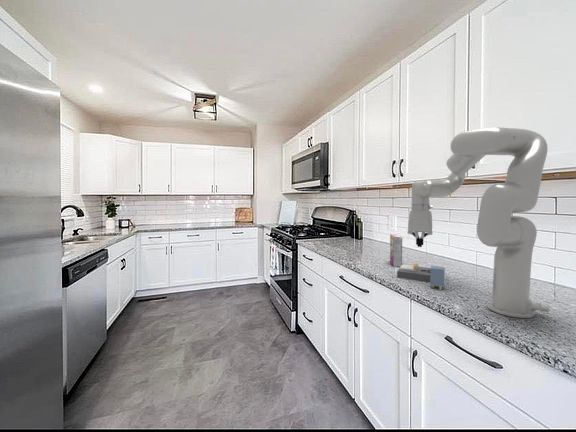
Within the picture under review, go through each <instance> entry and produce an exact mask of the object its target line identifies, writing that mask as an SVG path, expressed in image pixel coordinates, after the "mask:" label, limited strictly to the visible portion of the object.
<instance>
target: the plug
mask: <svg viewBox="0 0 576 432" xmlns="http://www.w3.org/2000/svg"><path fill="white" fill-rule="evenodd" d="M430 268H431V272H430V282H429V283H430V284H429V285H431V287H432V288H435V286H437V287H438V288H439V290H440V291H441V290H443V288H442V287H445V275H446V274H445V272H446V271H445V270H446V269H445V268H446V267H445V266H436V265H431V266H430Z"/></svg>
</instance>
